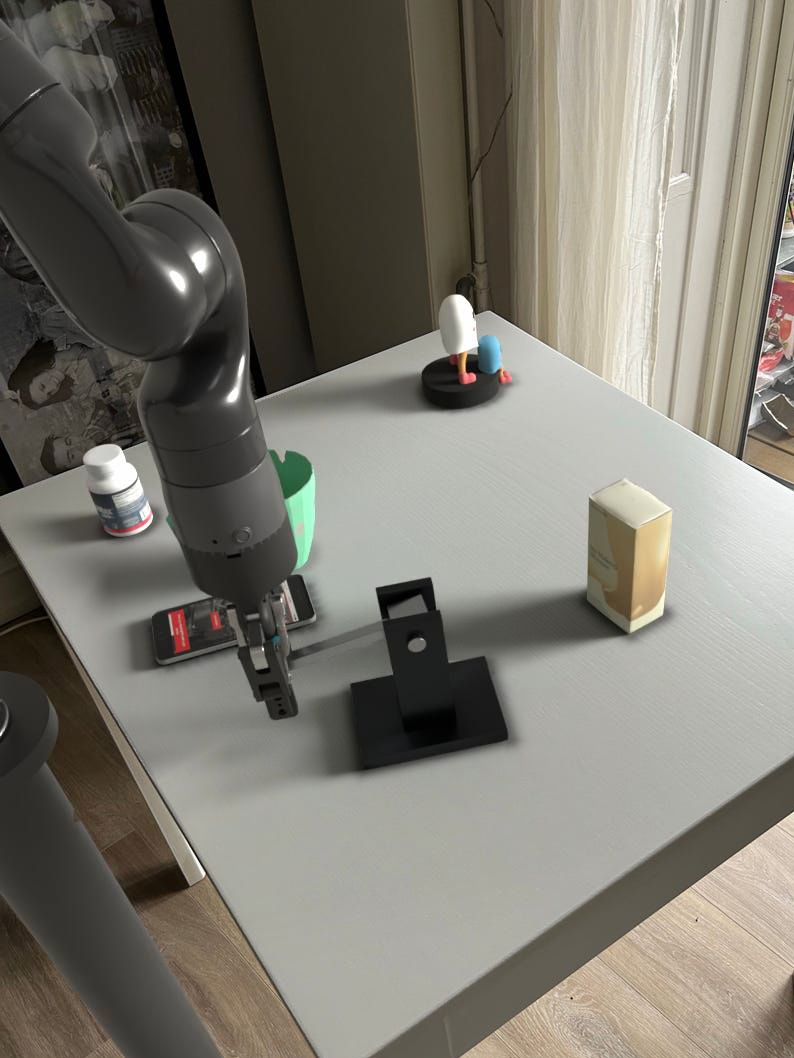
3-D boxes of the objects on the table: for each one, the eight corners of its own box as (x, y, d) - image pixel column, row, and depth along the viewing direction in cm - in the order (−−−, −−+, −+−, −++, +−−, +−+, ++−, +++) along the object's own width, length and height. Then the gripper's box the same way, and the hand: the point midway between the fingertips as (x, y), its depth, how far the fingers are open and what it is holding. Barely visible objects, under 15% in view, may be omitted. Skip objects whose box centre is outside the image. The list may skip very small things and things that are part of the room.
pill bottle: (96, 524, 108) (67, 455, 102) (139, 503, 110) (112, 434, 104) (119, 544, 105) (89, 474, 99) (162, 522, 107) (136, 452, 101)
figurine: (520, 397, 120) (514, 303, 112) (431, 415, 119) (419, 321, 111) (501, 362, 127) (494, 271, 119) (417, 378, 126) (404, 287, 117)
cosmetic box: (585, 601, 92) (584, 493, 84) (620, 581, 94) (622, 474, 85) (631, 637, 88) (634, 528, 80) (667, 616, 90) (674, 507, 81)
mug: (319, 519, 105) (300, 438, 98) (343, 572, 98) (324, 489, 91) (183, 558, 102) (153, 478, 95) (198, 616, 95) (167, 533, 88)
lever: (276, 703, 75) (263, 683, 73) (272, 655, 79) (260, 635, 77) (438, 647, 75) (429, 626, 73) (426, 601, 79) (417, 580, 77)
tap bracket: (364, 770, 80) (335, 658, 71) (352, 692, 86) (324, 580, 77) (508, 739, 81) (497, 625, 72) (485, 664, 87) (473, 551, 78)
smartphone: (149, 613, 95) (301, 572, 98) (151, 619, 95) (303, 577, 98) (156, 662, 90) (316, 617, 92) (158, 668, 90) (318, 623, 93)
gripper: (175, 466, 71) (233, 636, 83) (171, 591, 61) (237, 765, 72) (279, 448, 72) (322, 619, 83) (292, 569, 61) (339, 745, 73)
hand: (282, 686), depth 78 cm, fingers closed on lever, 5 cm apart
